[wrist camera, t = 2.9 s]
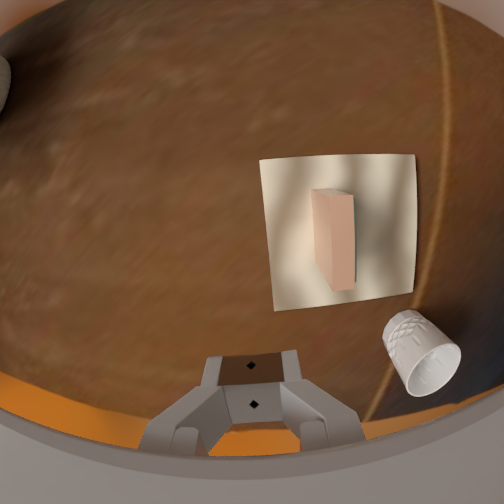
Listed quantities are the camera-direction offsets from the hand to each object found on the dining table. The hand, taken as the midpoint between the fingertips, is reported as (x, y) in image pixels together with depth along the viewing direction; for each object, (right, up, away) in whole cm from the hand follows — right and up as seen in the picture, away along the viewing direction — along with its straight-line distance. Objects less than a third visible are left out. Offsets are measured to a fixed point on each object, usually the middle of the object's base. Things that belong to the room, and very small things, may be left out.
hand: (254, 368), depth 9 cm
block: (+7, +7, +21) cm, 23 cm away
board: (+11, +6, +22) cm, 25 cm away
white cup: (+21, -7, +26) cm, 34 cm away
